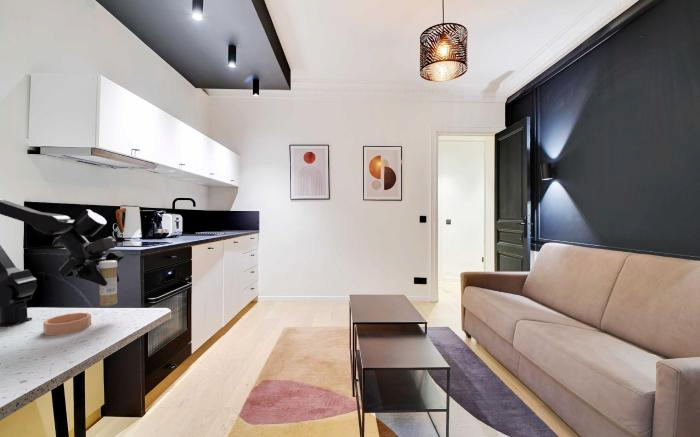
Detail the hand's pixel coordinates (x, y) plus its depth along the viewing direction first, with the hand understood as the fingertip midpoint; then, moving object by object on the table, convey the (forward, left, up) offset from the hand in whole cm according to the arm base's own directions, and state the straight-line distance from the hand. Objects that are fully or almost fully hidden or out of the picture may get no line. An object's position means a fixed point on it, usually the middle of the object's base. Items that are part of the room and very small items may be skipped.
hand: (112, 283), depth 102 cm
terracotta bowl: (-8, -7, -12) cm, 16 cm away
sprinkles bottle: (-1, 0, -7) cm, 7 cm away
